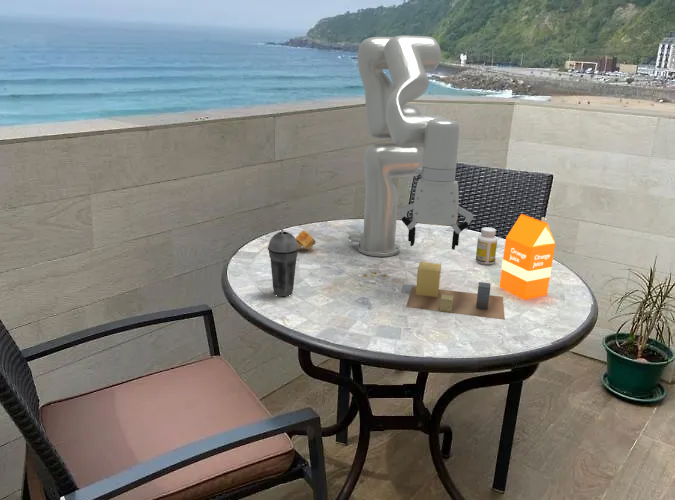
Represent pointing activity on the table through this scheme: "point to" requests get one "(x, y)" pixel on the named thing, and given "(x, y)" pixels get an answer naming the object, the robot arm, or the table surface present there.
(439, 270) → the tan rectangular block
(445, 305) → the wooden stub
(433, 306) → the board
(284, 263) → the beverage cup
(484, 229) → the supplement bottle
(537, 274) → the orange juice
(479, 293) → the post
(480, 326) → the table surface
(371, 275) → the set of tan pieces
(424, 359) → the table surface
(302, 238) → the pyrite
